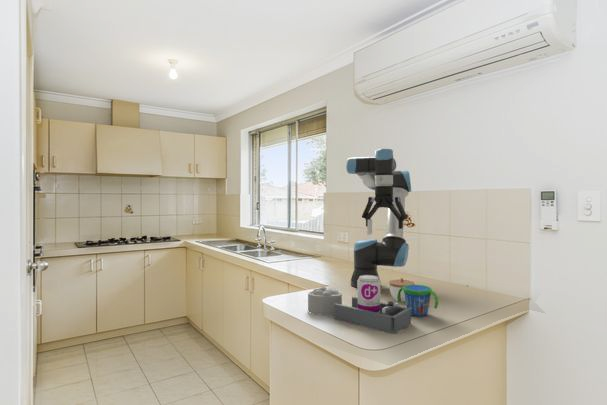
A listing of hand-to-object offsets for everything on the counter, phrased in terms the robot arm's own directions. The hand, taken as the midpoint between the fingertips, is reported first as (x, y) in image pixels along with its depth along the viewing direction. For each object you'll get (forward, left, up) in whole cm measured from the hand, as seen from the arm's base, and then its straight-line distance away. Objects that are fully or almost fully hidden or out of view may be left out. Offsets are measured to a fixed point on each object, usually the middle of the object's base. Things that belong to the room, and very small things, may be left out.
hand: (383, 235), depth 157 cm
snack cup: (+17, -5, -29) cm, 34 cm away
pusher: (+15, -24, -27) cm, 40 cm away
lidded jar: (+4, +9, -29) cm, 31 cm away
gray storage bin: (+8, -24, -29) cm, 38 cm away
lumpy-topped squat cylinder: (-13, -25, -29) cm, 40 cm away
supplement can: (+7, -24, -28) cm, 37 cm away
